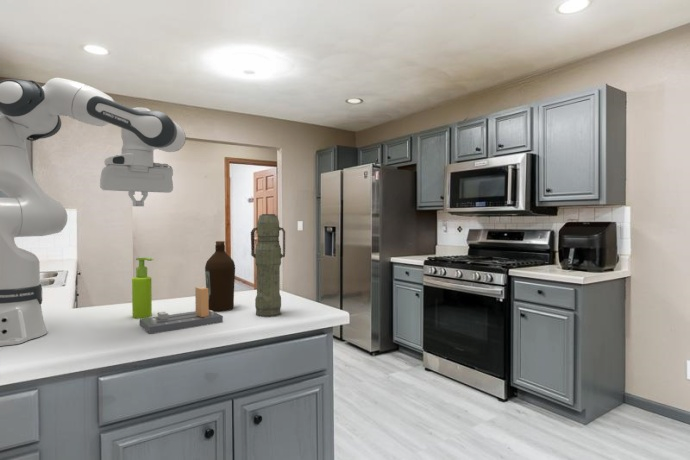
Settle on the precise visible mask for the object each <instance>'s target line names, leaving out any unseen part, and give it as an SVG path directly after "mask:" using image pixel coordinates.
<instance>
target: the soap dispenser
mask: <svg viewBox="0 0 690 460" xmlns="http://www.w3.org/2000/svg"><path fill="white" fill-rule="evenodd" d="M135 260H136V261H138V267H135V271H136V272H135V274H136V275H135V277H132V278H131V288H132V289H131V290H132V291H131V294H132V295H131V296H132V298H131V300H132V301H131V302H132V304H131V305H132V307H131V308H132V318H134V319H143V318H150V317H153V311H152V306H153V305H152V302H153V301H152V299H153V298H152V297H153V296H152V293H153V292H152V277H151V276H148V267H147V266H145V261H154V258H152V257H136V259H135Z"/></svg>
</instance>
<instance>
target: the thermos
mask: <svg viewBox="0 0 690 460" xmlns="http://www.w3.org/2000/svg"><path fill="white" fill-rule="evenodd" d="M258 216H259V217H258V219H257V223H256V225H257V226H256V227H253V228H252V230H251V231H250V244H251V245H250V246H251V248H250V249H251V251H250V252H251V253H250V255H251V257H253V258H254V259H255V266H256V296H255V300H254V301H255V306H254V307H255V316H257V317H260V316H261V317H262V318H270V317H271V316H273V317H277V315H278V316H280V315H281V314H282V313H281V312H282V311H281V307H282V297H281V293H280V291H281V289H280V286H281V285H280V283H281V281H280V279H281V278H280V277H281V276H280V271H281V269H280V266H281V264H282V258H285V256H286V230H285V229H284V227H281V226H280V221H279V217H278V215H276V213H275V214H274V213H273V214H272V213H261V214H259V215H258ZM256 231H257V234H256V235H257V243H256V247H255V233H256ZM280 231H282V248H281V245H280Z"/></svg>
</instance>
